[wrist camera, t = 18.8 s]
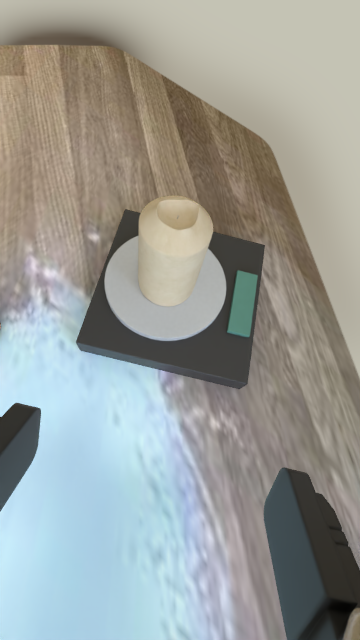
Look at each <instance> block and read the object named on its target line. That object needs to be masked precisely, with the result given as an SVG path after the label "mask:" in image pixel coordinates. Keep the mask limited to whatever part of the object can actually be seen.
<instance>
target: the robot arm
mask: <svg viewBox="0 0 360 640" xmlns="http://www.w3.org/2000/svg"><path fill="white" fill-rule="evenodd" d="M40 418H41V409H40V408H37V407H32V406H28V405H24V404H20V403H15V404H14V405H12V406H11V408H10V409H9V410H8V411H7V412H6V413H5V414H4V415H3V416H2V417H0V511H1V510H2V508H3V506H4V505H5V503H6V502H7V500H8V499H9V497H10V496H11V494H12V493H13V491H14V489H15V488H16V486H17V485H18V483H19V482H20V480H21V479H22V477H23V475H24V474H25V472H26V471H27V469H28V468H29V466H30V464H31V463H32V461H33V459H34V456H35V454H36V451H37V447H38V439H39V428H40ZM264 522H265V527H266V533H267V538H268V543H269V548H270V553H271V559H272V564H273V569H274V574H275V579H276V585H277V590H278V595H279V600H280V605H281V611H282V616H283V621H284V626H285V631H286V636H287V640H360V570H359V567H358V565H357V563H356V560H355V558H354V556H353V553H352V551H351V549H350V547H348V541H347V539H346V537H345V534H344V532H342V527H341V525H340V523H339V520H338V518H337V515H336V513H335V511H334V509H333V508H332V507H331V506H330V504H329V503H328V502H327V500H326V499H325V498H324V496H323V495H322V494H319V493H316V492H315V490H314V487H313V485H312V482H311V479H310V477H309V475H308V474H307V473H305V472H301V471H296V470H292V469H288V468H282V469H281V470H280V471H279V473H278V475H277V477H276V480H275V482H274V484H273V486H272V488H271V490H270V492H269V494H268V496H267V499H266V501H265V506H264Z"/></svg>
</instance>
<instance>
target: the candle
mask: <svg viewBox="0 0 360 640" xmlns="http://www.w3.org/2000/svg"><path fill="white" fill-rule="evenodd" d="M212 234H213V224H212V220H211V218H210V216H209V214H208V213H207V211H206V210H205V209H204V208H203V207H202V206H201V205H199V204H198V203H196V202H195V201H193V200H191V199H189V198H186V197H182V196H175V195H174V196H164V197H160V198H157V199H155V200H153V201H151V202H150V203H148V204H147V205H146V206H145V207H144V209H143V210H142V212H141V214H140V217H139V239H138V282H139V287H140V289H141V292H142V293H143V295H144V296H145V297H146V298H147V299H148V300H149V301H151V302H152V303H154V304H157V305H160V306H167V307H169V306H176V305H179V304H181V303H183V302H184V301H185V300H187V299H188V298H189V296H190V295H191V293H192V292H193V289H194V287H195V284H196V281H197V278H198V275H199V272H200V270H201V267H202V264H203V261H204V258H205V255H206V252H207V249H208V246H209V243H210V240H211V238H212Z"/></svg>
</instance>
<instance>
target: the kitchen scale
mask: <svg viewBox="0 0 360 640" xmlns="http://www.w3.org/2000/svg"><path fill="white" fill-rule="evenodd" d="M140 214H141V213H138V212H134V211H130V210H126V209H125V211H124V214H123V217H122V219H121V222H120V225H119V228H118V230H117V233H116V236H115V238H114V241H113V244H112V246H111V249H110V252H109V255H108V257H107V260H106V263H105V265H104V268H103V271H102V273H101V276H100V279H99V281H98V284H97V287H96V290H95V292H94V295H93V298H92V300H91V303H90V306H89V308H88V311H87V314H86V316H85V319H84V322H83V325H82V327H81V330H80V333H79V335H78V338H77V341H76V343H77V345H78V347H79V349H80V350H81V351H85V352H89V353H94V354H98V355H102V356H106V357H110V358H114V359H118V360H122V361H126V362H131V363H135V364H139V365H143V366H147V367H151V368H155V369H159V370H163V371H168V372H172V373H176V374H180V375H184V376H188V377H192V378H196V379H201V380H205V381H209V382H213V383H217V384H221V385H225V386H229V387H233V388H238V389H240V388H242V387H243V386H245V385H246V384H247V383H248V375H249V367H250V359H251V351H252V343H253V335H254V327H255V319H256V311H257V303H258V296H259V288H260V280H261V272H262V264H263V256H264V248H265V245H262V244H258V243H254V242H250V241H247V240H243V239H239V238H235V237H231V236H227V235H223V234H219V233H216V232H213V234H212V238H211V240H210V243H209V246H208V249H207V252H206V255H205V258H204V261H203V264H202V267H201V270H200V272H199V275H198V278H197V281H196V284H195V287H194V289H193V292H192V293H191V295H190V296H189V298H188V299H187V300H185V301H184V302H183V303H181V304H179V305H176V306H169V307H167V306H160V305H157V304H154V303H152V302H151V301H149V300H148V299H147V298H146V297H145V296H144V295H143V293H142V292H141V289H140V287H139V282H138V239H139V217H140Z"/></svg>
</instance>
